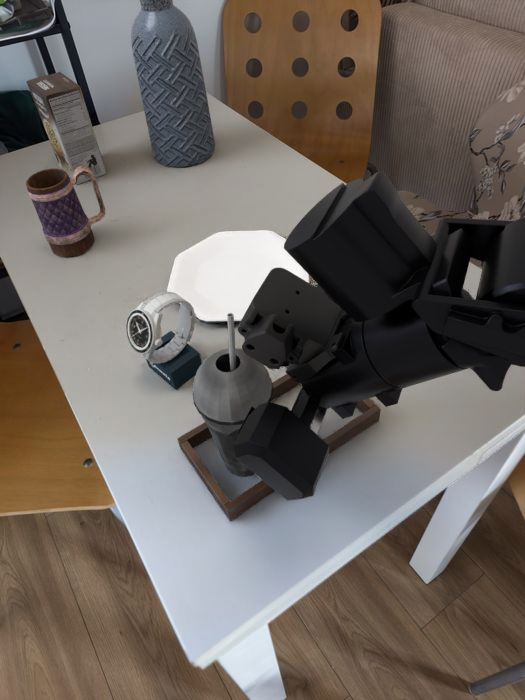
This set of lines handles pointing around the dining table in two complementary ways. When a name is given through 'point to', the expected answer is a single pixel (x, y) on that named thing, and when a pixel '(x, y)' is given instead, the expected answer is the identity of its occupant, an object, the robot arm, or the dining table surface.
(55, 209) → the mug
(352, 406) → the robot arm
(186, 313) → the watch
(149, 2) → the vase
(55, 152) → the coffee box
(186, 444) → the frame
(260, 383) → the beverage cup
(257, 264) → the plate
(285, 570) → the dining table surface
